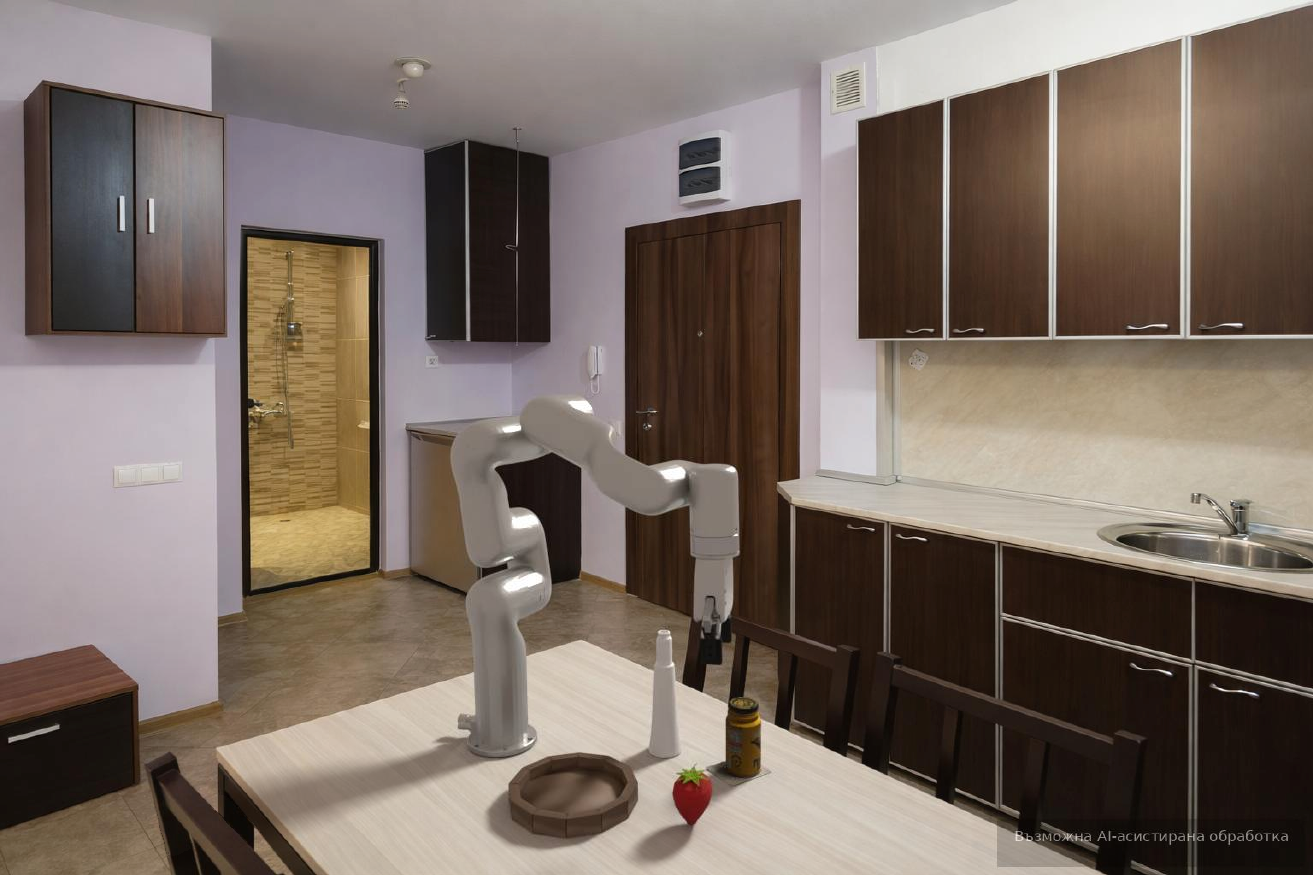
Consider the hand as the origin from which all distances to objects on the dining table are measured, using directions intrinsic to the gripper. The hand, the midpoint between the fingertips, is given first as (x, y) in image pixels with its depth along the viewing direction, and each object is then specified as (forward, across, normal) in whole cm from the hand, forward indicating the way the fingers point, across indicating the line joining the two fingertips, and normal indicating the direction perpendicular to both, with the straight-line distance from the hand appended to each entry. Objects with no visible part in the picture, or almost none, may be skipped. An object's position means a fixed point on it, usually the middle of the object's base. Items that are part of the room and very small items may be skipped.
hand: (716, 652), depth 130 cm
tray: (+24, +4, -23) cm, 34 cm away
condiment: (+25, -11, +2) cm, 27 cm away
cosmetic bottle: (+24, -16, -12) cm, 32 cm away
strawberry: (+25, +7, -3) cm, 26 cm away
